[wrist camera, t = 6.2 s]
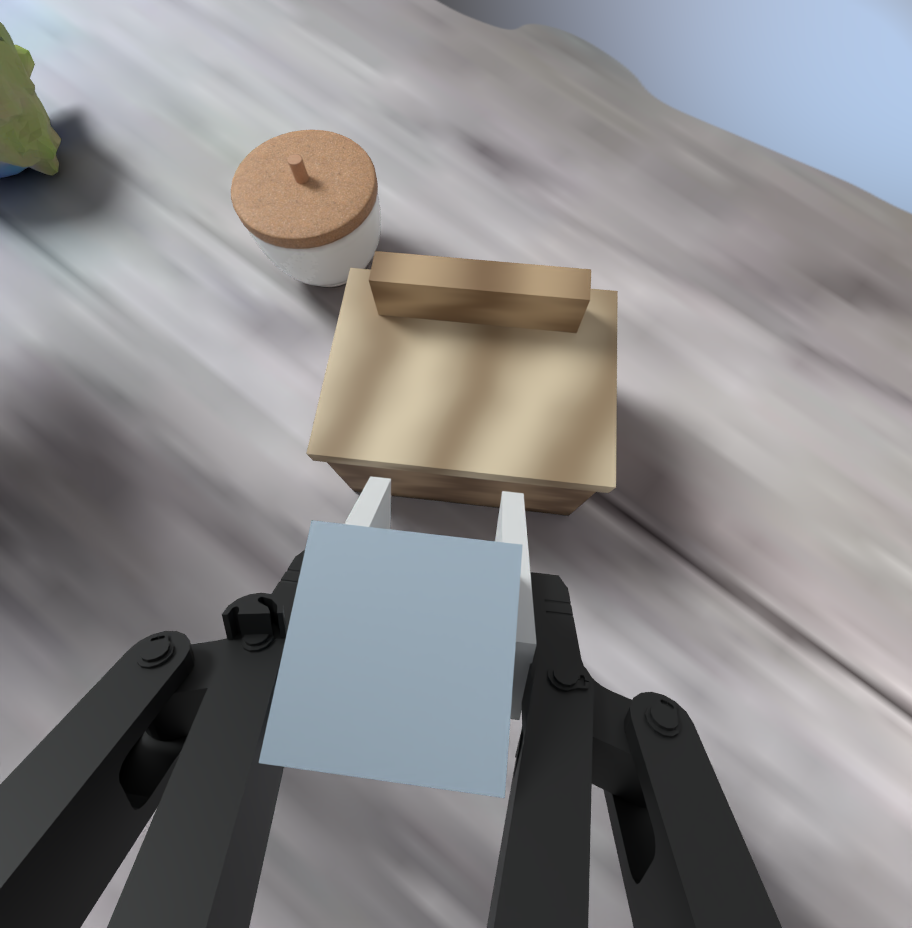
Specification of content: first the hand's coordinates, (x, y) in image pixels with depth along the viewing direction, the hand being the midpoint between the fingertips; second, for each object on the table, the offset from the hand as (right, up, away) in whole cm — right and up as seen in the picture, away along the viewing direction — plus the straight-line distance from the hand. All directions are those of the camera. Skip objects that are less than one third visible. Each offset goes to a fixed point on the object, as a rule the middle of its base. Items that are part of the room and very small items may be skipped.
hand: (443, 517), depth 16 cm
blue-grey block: (0, -5, +2) cm, 5 cm away
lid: (+1, +7, +11) cm, 13 cm away
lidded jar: (-11, +20, +24) cm, 33 cm away
